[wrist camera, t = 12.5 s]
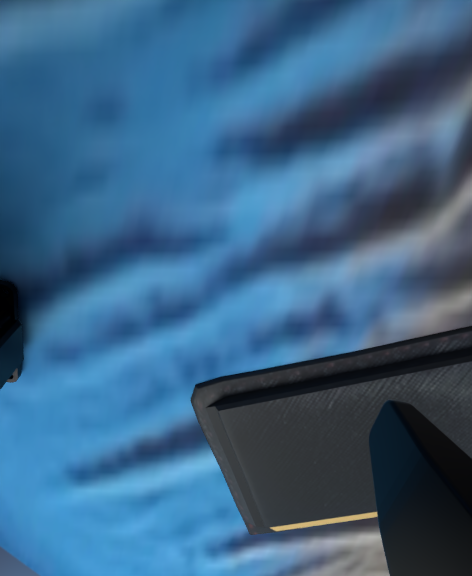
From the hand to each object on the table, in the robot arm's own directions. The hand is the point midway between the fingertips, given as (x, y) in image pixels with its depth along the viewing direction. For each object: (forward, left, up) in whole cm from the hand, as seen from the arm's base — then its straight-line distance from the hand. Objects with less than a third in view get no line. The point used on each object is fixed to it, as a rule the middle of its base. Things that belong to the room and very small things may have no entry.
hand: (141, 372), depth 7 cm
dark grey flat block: (+13, -14, -14) cm, 23 cm away
